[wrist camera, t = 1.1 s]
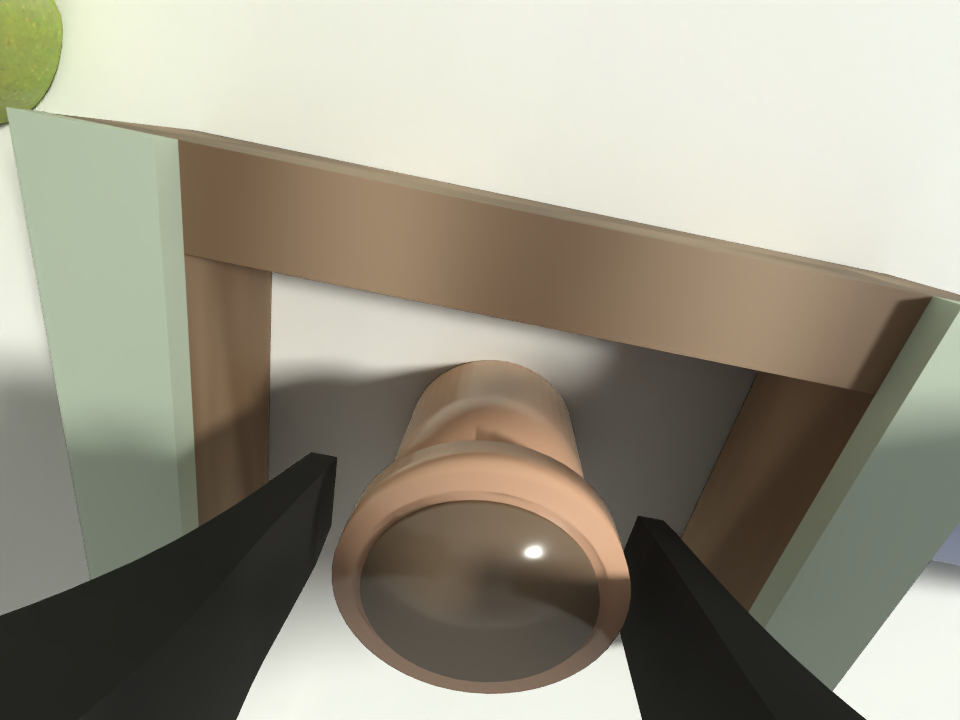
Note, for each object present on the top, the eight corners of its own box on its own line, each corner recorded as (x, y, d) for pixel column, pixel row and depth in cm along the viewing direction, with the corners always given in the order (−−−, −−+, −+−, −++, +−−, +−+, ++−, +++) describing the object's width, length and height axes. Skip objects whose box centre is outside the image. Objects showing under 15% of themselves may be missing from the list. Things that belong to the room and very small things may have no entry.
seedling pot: (608, 369, 14) (678, 514, 8) (558, 523, 16) (584, 722, 10) (412, 329, 14) (340, 446, 8) (389, 490, 16) (320, 672, 10)
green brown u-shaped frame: (893, 275, 12) (1101, 333, 8) (695, 641, 17) (755, 794, 13) (187, 128, 12) (6, 107, 8) (207, 546, 17) (106, 671, 13)
